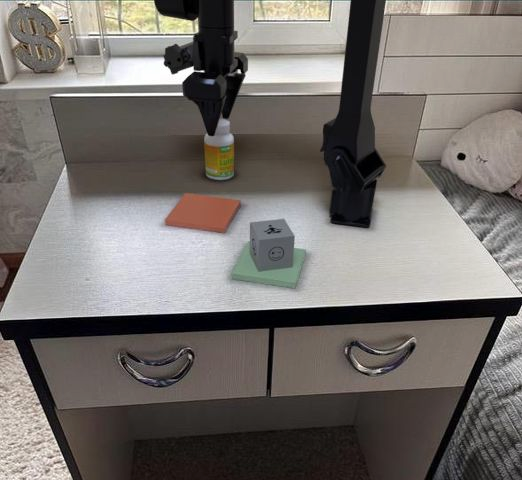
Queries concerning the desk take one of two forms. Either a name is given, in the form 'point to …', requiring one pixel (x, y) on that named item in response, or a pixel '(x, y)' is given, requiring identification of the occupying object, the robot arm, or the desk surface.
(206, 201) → the terracotta mat
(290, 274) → the green mat
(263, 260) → the dice cube
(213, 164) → the supplement bottle
